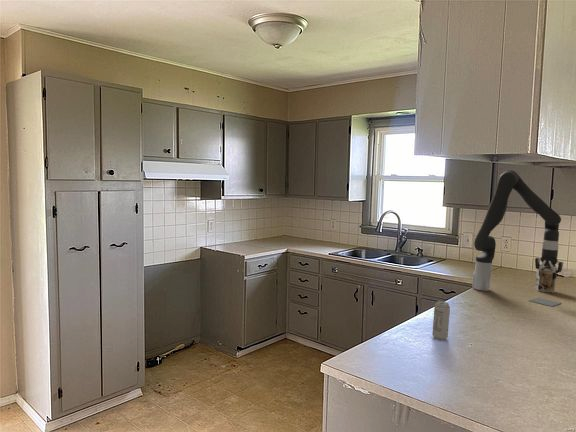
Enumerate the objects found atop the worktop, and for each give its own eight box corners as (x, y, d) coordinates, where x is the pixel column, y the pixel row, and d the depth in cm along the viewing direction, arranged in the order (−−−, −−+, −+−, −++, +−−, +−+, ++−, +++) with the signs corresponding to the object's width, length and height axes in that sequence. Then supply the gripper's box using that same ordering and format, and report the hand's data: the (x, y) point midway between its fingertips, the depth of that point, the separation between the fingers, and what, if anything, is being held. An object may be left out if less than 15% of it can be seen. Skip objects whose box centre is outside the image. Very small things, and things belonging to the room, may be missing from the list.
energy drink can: (450, 340, 173) (453, 305, 171) (437, 341, 171) (440, 305, 170) (442, 335, 178) (445, 300, 177) (429, 335, 177) (432, 300, 176)
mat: (528, 301, 238) (528, 300, 238) (538, 298, 245) (538, 297, 245) (551, 306, 228) (551, 306, 228) (561, 303, 235) (561, 303, 235)
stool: (538, 284, 236) (539, 270, 235) (543, 283, 239) (544, 269, 238) (550, 287, 231) (551, 272, 230) (554, 285, 234) (556, 271, 234)
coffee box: (538, 291, 260) (540, 265, 259) (534, 288, 266) (537, 263, 265) (554, 293, 258) (557, 267, 257) (550, 290, 264) (553, 265, 263)
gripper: (533, 246, 237) (530, 276, 238) (561, 250, 225) (558, 281, 227) (539, 246, 241) (536, 274, 243) (567, 250, 230) (564, 280, 231)
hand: (547, 278), depth 235 cm, fingers closed on stool, 6 cm apart
